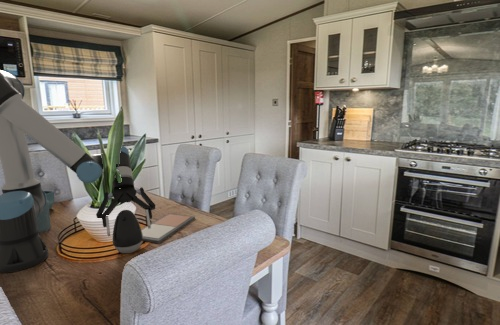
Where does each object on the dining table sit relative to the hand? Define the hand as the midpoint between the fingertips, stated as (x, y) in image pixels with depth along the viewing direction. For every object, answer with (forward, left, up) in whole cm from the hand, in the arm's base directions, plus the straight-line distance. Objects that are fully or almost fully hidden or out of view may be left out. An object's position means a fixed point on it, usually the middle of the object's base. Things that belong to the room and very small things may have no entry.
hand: (129, 230), depth 109 cm
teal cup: (+3, +53, -8) cm, 54 cm away
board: (+21, +1, -8) cm, 22 cm away
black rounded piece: (0, +1, -8) cm, 8 cm away
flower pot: (+22, +77, -8) cm, 81 cm away
